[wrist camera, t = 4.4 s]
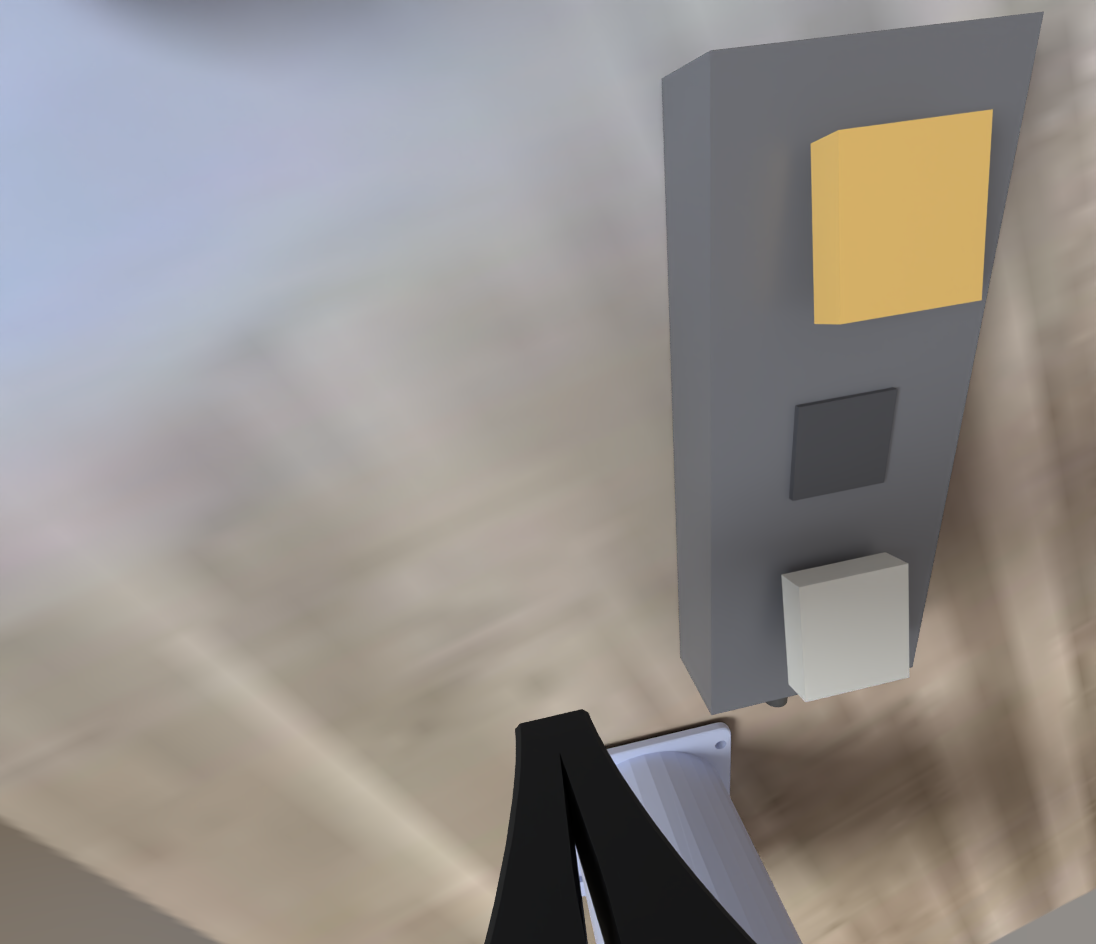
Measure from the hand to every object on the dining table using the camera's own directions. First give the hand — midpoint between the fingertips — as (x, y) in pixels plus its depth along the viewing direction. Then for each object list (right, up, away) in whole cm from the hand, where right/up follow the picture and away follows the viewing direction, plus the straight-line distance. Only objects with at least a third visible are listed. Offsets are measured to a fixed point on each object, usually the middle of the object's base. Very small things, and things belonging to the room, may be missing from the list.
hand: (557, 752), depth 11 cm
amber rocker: (+8, +11, +3) cm, 14 cm away
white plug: (+9, +1, +8) cm, 12 cm away
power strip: (+8, +6, +9) cm, 14 cm away
